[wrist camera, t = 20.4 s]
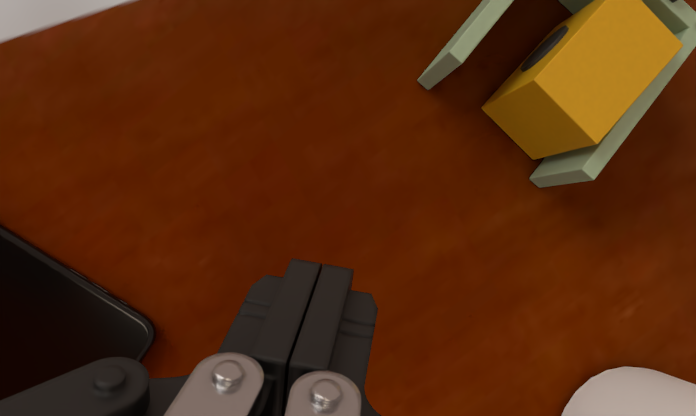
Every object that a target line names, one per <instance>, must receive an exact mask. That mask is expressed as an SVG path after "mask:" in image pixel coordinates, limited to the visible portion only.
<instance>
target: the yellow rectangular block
mask: <svg viewBox="0 0 696 416" xmlns="http://www.w3.org/2000/svg"><path fill="white" fill-rule="evenodd" d="M682 47H683V44H682V43H681V42H680V41H679V40H678V39H677V37H676V36H675V35H674V34H673V33H672V32H671V31H670V30H669V29H668V28H667V27H666V26H665V25H664V24H663V23H662V22H661V21H660V20H659V19H658V17H657V16H656V15H655V14H654V13H653V12H652V11H651V10H650V9H649V8H648V7H647V6H646V5H645V4H644V3H643V2H642V1H641V0H594V1H593V2H591V3H590V4H588V5H587V6H585V7H584V8H583V9H581V10H580V11H578V12H577V13H575V14H574V15H572V16H571V17H569V18H568V19H566V20H565V21H563V22H562V23H560V24H559V25H557V26H556V27H554V28H553V30H552V31H551V32H550V33H549V34H548V35H547V36H546V37H545V38H544V39H543V40H542V42H541V43H540V44H539V45H538V46H537V47H536V48H535V49H534V50H533V51H532V52H531V53H530V55H529V56H528V57H527V58H526V59H525V60H524V61H523V62H522V63H521V64H520V65H519V67H518V68H517V69H516V70H515V71H514V72H513V73H512V74H511V75H510V76H509V77H508V79H507V80H506V81H505V82H504V83H503V84H502V85H501V86H500V87H499V88H498V89H497V91H496V92H495V93H494V94H493V95H492V96H491V97H490V98H489V99H488V100H487V101H486V103H485V104H484V105H483V106H482V107H481V109H482V110H483V111H484V112H485V113H486V114H487V115H488V116H489V117H490V118H491V119H492V120H493V121H494V122H495V123H496V124H497V125H498V126H499V127H500V128H501V129H502V130H503V131H504V132H505V133H506V134H507V135H508V136H509V137H510V138H511V139H512V140H513V141H514V142H515V143H516V144H517V145H518V146H519V147H520V148H521V149H522V150H523V151H524V152H525V153H526V154H527V155H528V156H529V157H530V158H531V159H532V160H535V159H539V158H543V157H547V156H551V155H555V154H559V153H563V152H567V151H572V150H576V149H580V148H584V147H588V146H592V145H596V144H598V143H599V142H600V141H601V140H602V138H603V137H604V136H605V135H606V134H607V133H608V132H609V130H610V129H611V128H612V127H613V126H614V125H615V124H616V122H617V121H618V120H619V119H620V118H621V117H622V116H623V114H624V113H625V112H626V111H627V110H628V109H629V108H630V106H631V105H632V104H633V103H634V102H635V101H636V100H637V98H638V97H639V96H640V95H641V94H642V93H643V91H644V90H645V89H646V88H647V87H648V86H649V85H650V83H651V82H652V81H653V80H654V79H655V78H656V77H657V75H658V74H659V73H660V72H661V71H662V70H663V69H664V67H665V66H666V65H667V64H668V63H669V62H670V61H671V59H672V58H673V57H674V56H675V55H676V54H677V53H678V51H679V50H680V49H681V48H682Z"/></svg>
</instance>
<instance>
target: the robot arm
mask: <svg viewBox="0 0 696 416" xmlns="http://www.w3.org/2000/svg"><path fill="white" fill-rule="evenodd" d="M353 272H354V269H349V268H343V267H338V266H332V265H327V264H324V265H323V267H322V264H321V263H315V262H310V261H304V260H299V259H293V258H292V259H291V261H290V263H289V266H288V268H287V270H286V273H285V275H284V277H283V278H282V277H276V276H271V275H266V276H264V277H263V278H261V279H260V280H259V281H257V282H256V283H255V284H253V285H252V286H251V288H250V290H249V292H248V294H247V296H246V298H245V301H244V302H243V304H242V306H241V308H240V310H239V313H238V314H237V316H236V317H235V319H234V321H233V323H232V325H231V327H230V329H229V331H228V333H227V335H226V337H225V339H224V341H223V343H222V345H221V347H220V349H219V351H218V353H217V354H215V355H212V356H210V357H207V358H206V359H204V360H202V361H201V362H200V363H199V364H198V365H197V366H196V367H195V369H194V370H193V372H192V373H191V374H189V375H186V376H181V377H171V378H153V379H149V374H148V371H147V369H146V368H145V367H144V366H143V365H142V364H141V363H140V362H138V361H136V360H133V359H130V358H126V357H109V358H104V359H100V360H97V361H94V362H92V363H90V364H87V365H85V366H82V367H80V368H77V369H75V370H73V371H70V372H68V373H65V374H63V375H61V376H58V377H56V378H53V379H51V380H49V381H46V382H44V383H41V384H39V385H37V386H34V387H32V388H29V389H27V390H25V391H22V392H20V393H17V394H15V395H13V396H10V397H8V398H5V399H3V400H0V416H381V415H380V414H378V413H377V412H376V411H375V410H374V409H373V408H372V406H371V405H370V404H369V402H368V400H367V398H366V395H365V391H364V384H365V379H366V373H367V367H368V361H369V356H370V350H371V344H372V338H373V333H374V327H375V321H376V315H377V310H378V308H377V306H376V304H375V301H374V299H373V297H372V295H371V294H369V293H364V292H358V291H353V290H351V287H352V280H353Z"/></svg>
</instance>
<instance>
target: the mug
mask: <svg viewBox="0 0 696 416" xmlns="http://www.w3.org/2000/svg"><path fill="white" fill-rule="evenodd" d="M562 416H696V385H695V384H692V383H690V382H687V381H684V380H681V379H678V378H676V377H673V376H670V375H667V374H664V373H662V372H659V371H656V370H652V369H646V368H638V367H627V366H625V367H620V368H614V369H609V370H606V371H604V372H602V373H600V374H598V375H596V376H594V377H592V378H590V379H589V380H588V381H587V382H586V383H585V384H584V385H582V386H581V387H580V388H579V389H578V390H577V391H576V392H575V393H574V395H573V396H572V398H571V399H570V401H569V402H568V404H567V405H566V407H565V408H564V411H563V413H562Z"/></svg>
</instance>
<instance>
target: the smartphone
mask: <svg viewBox="0 0 696 416" xmlns="http://www.w3.org/2000/svg"><path fill="white" fill-rule="evenodd" d="M155 337H156V328H155V325H154V324H153V322H152V321H151V320H150V319H149V318H148V317H147V316H146V315H144V314H143V313H141V312H139V311H138V310H136V309H135V308H133V307H131V306H130V305H128V304H127V303H126V302H124V301H122V300H121V299H119V298H117V297H115V296H114V295H112V294H111V293H110V292H109V291H107V290H105V289H104V288H102V287H101V286H99V285H97V284H96V283H94V282H91V281H90V280H88V278H86V277H85V276H83V275H81V274H80V273H78V272H77V271H75V270H74V269H71V268H69V267H67V266H66V265H64V264H63V263H61V262H59V261H58V260H56V259H55V258H53V257H51V256H50V255H48V254H47V253H45V252H43V251H42V250H40V249H39V248H37V247H35V246H34V245H32V244H31V243H29V242H27V241H26V240H24V239H23V238H21V237H19V236H18V235H16V234H15V233H13V232H11V231H10V230H8V229H7V228H5V227H3V226H2V225H0V400H3V399H5V398H8V397H10V396H13V395H15V394H17V393H20V392H22V391H25V390H27V389H29V388H32V387H34V386H37V385H39V384H41V383H44V382H46V381H49V380H51V379H53V378H56V377H58V376H61V375H63V374H65V373H68V372H70V371H73V370H75V369H77V368H80V367H82V366H85V365H87V364H90V363H92V362H94V361H97V360H100V359H104V358H109V357H126V358H130V359H133V360H136V361H138V362H140V363H141V361H142V360H143V358H144V357H145V355H146V354H147V352H148V351H149V349H150V348H151V346H152V345H153V343H154V341H155Z"/></svg>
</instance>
